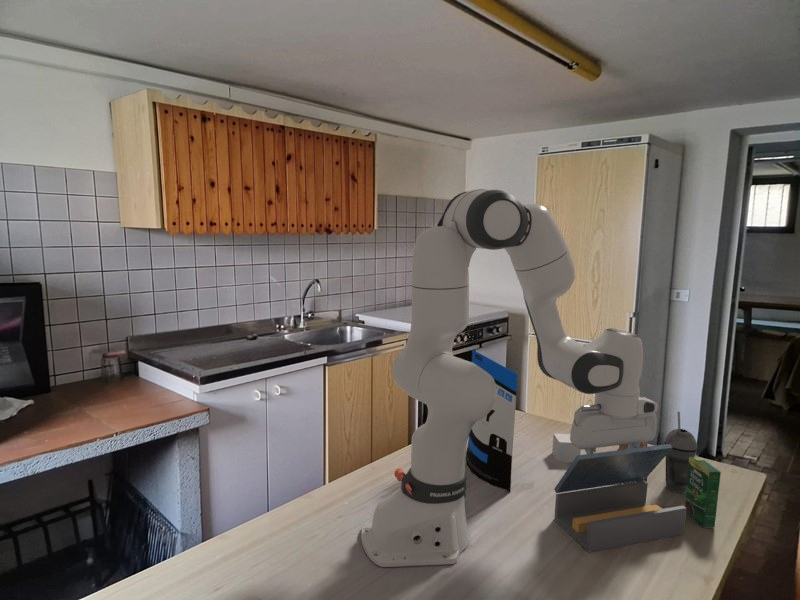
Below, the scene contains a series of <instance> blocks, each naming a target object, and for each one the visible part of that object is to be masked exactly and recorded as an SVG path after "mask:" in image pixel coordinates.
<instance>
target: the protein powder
mask: <svg viewBox="0 0 800 600" xmlns="http://www.w3.org/2000/svg"><path fill="white" fill-rule="evenodd" d="M471 352H472V355H471V362H472V363H474V364H476V365H477V366H479V367H480V368H482V369H483V370H485V371H486V372H487V373H489V374H490V375H491V376H492V377H493V379H494V381H495V384H496V390H497V393H496V400H495V403H494V405H493V407H492V409H491V411H490V412H489V413H488V414H487V415H486V416H485V417H484V418H482V419H480V420H478V421H477V422H476V423H475V424H474V425H473V427H472V428H471V431H470V433H469V436H468V440H467V446H466V459H465V463H466V462H467V463H466V466H468V467H467V468H468V470H469V469H470V470H469V471H470V473H472V475H474V474H475V475H476V477H477V478H478V479H479V480H481V481H483V482H485V483H487V484H488V483H489V485H490V486H493V487H495V488H499V489H502V490H504V491H508V492H509V493H511V490H512V489H511V487H512V465H513V450H514V449H513V448H514V437H515V436H514V435H515V424H516V423H515V420H516V419H515V418H516V406H517V405H516V404H517V402H516V401H517V387H518V380H517V379H518V373H517V372H515V371H513V370H511V369H509V368H507V367H505V366H504V365H502V364H499V362H496V361H494V360H493V359H491V358H490V357H488V356H485V355H484V354H481V353H480V352H478V351H477V350H474V349H472V351H471ZM475 475H474V476H475Z"/></svg>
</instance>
